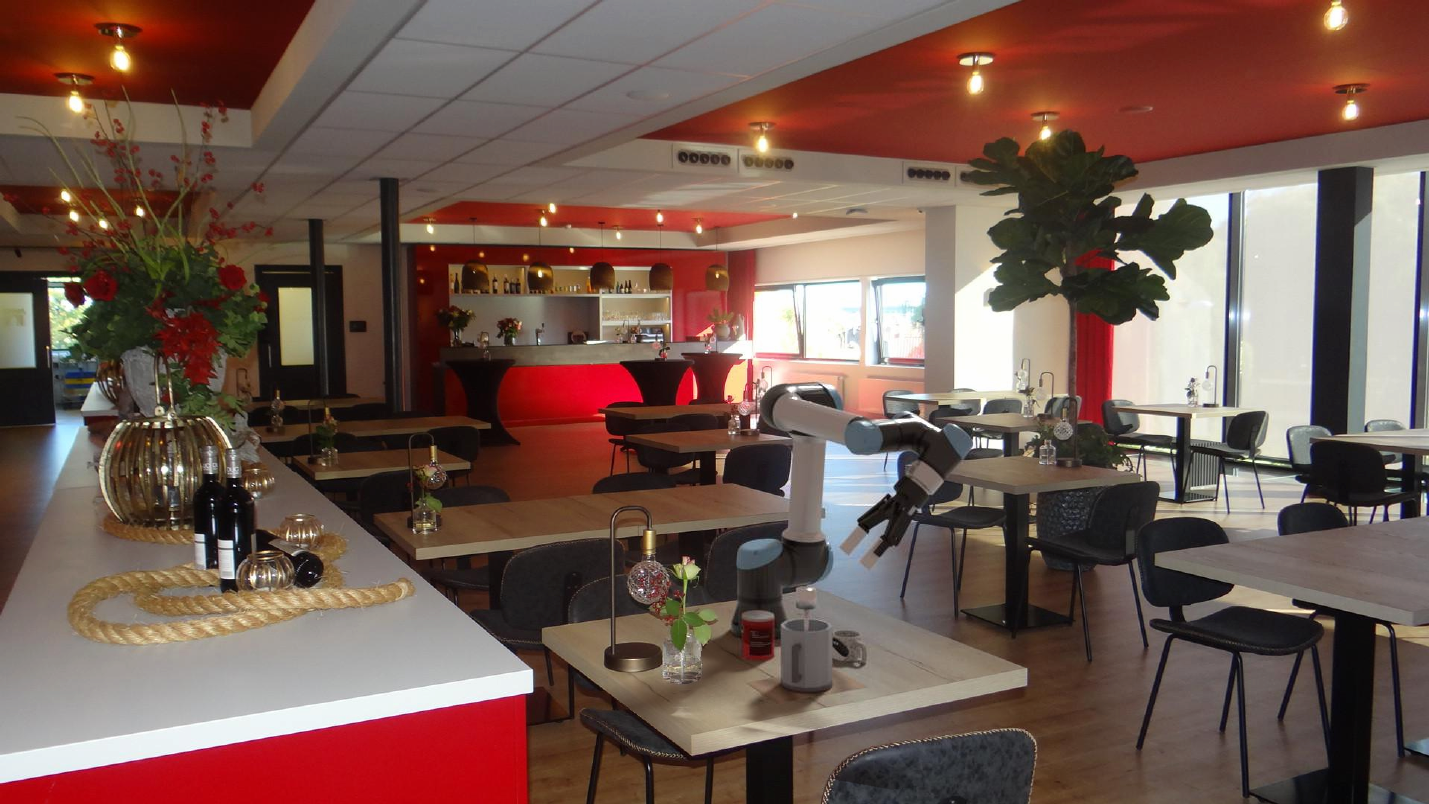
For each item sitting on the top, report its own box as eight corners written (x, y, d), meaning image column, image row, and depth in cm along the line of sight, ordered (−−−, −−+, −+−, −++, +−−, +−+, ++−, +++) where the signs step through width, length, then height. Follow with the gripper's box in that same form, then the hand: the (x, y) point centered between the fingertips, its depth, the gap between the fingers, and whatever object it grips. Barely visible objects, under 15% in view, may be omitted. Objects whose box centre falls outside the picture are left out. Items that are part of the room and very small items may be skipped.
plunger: (784, 676, 213) (783, 591, 212) (795, 665, 220) (795, 583, 219) (818, 680, 210) (817, 594, 209) (828, 669, 217) (828, 586, 216)
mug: (826, 660, 235) (826, 633, 235) (847, 655, 239) (847, 628, 239) (855, 672, 227) (855, 643, 227) (876, 666, 231) (876, 638, 230)
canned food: (756, 653, 242) (756, 608, 241) (781, 660, 236) (781, 614, 235) (734, 660, 236) (734, 614, 236) (759, 668, 230) (759, 621, 230)
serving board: (777, 709, 204) (777, 703, 204) (746, 688, 217) (746, 682, 217) (867, 692, 214) (867, 686, 214) (832, 672, 226) (832, 667, 226)
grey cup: (769, 693, 210) (768, 632, 210) (790, 673, 223) (790, 616, 222) (820, 700, 206) (820, 638, 205) (839, 679, 218) (839, 621, 217)
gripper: (884, 466, 230) (824, 535, 228) (928, 483, 205) (860, 561, 204) (907, 487, 231) (847, 556, 230) (953, 506, 207) (886, 584, 205)
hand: (853, 558), depth 217 cm, fingers open, 13 cm apart
